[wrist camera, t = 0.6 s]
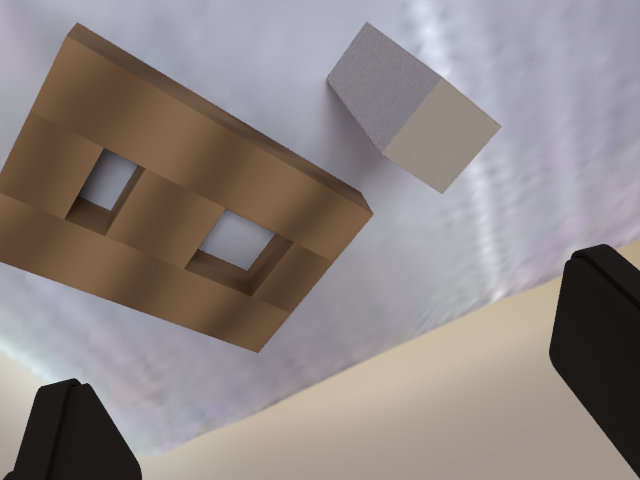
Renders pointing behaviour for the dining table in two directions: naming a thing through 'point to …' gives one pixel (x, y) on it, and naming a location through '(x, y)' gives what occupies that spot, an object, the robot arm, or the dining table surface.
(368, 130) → the steel square peg
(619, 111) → the dining table surface
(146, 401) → the dining table surface
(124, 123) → the walnut bore plate
